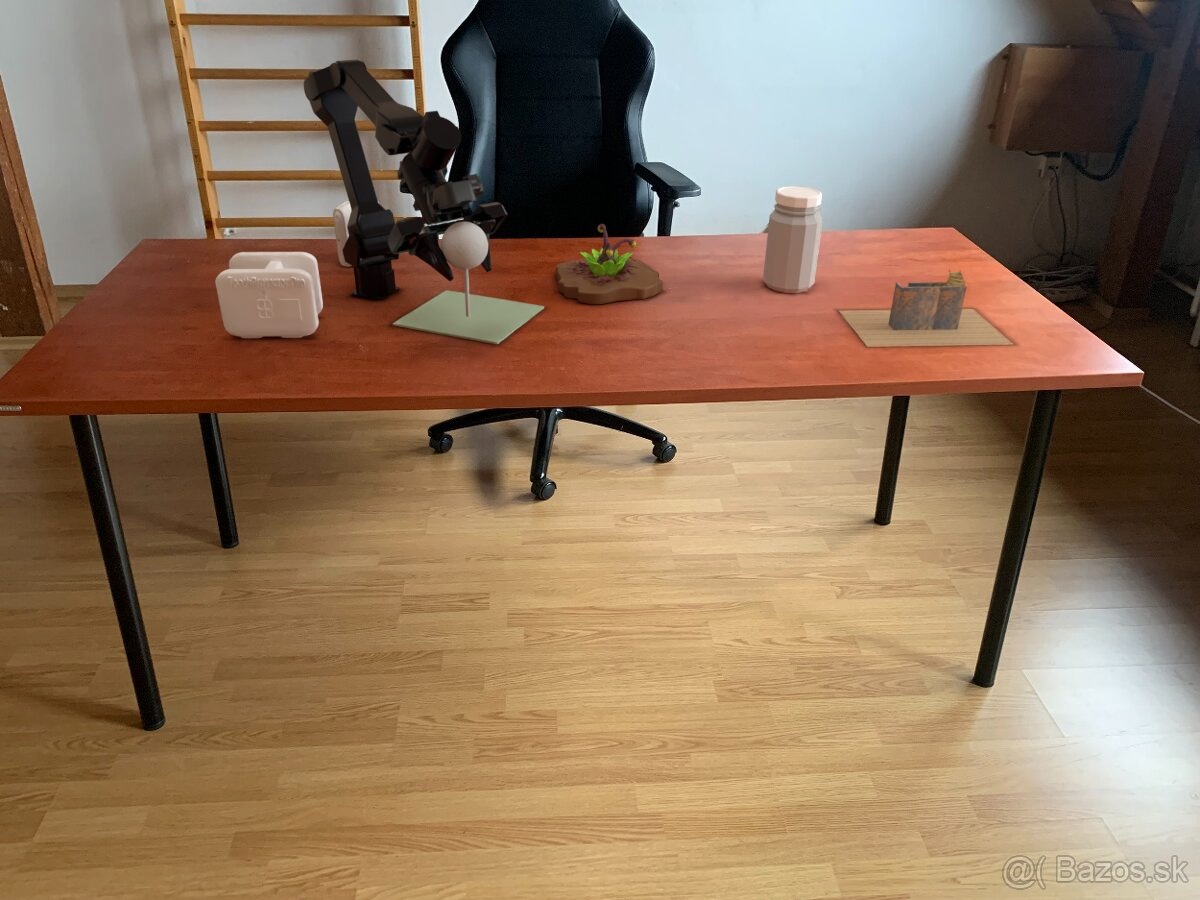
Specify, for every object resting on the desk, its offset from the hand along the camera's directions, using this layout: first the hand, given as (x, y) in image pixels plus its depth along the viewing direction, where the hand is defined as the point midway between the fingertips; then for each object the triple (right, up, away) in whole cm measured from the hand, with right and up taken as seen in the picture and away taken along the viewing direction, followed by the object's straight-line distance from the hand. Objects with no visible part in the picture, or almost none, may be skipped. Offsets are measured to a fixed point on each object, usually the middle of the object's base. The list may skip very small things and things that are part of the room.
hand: (470, 275), depth 144 cm
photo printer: (-28, +11, +45) cm, 54 cm away
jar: (+56, +4, +36) cm, 67 cm away
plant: (+21, +5, +35) cm, 41 cm away
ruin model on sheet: (+76, -6, +19) cm, 78 cm away
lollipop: (-1, -6, +5) cm, 7 cm away
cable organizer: (-34, -7, +14) cm, 37 cm away
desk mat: (-3, -4, +20) cm, 20 cm away
